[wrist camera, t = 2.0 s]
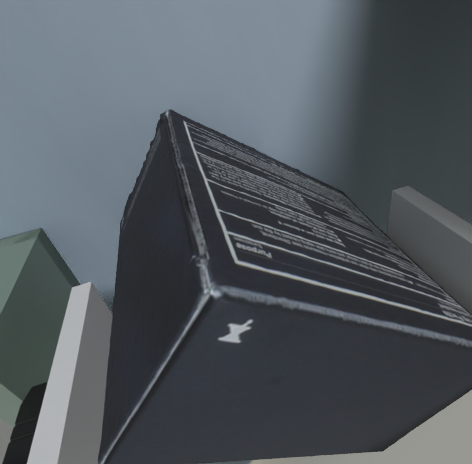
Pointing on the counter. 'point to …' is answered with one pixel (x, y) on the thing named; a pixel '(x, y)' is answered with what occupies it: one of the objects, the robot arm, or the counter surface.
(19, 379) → the box
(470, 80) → the counter surface
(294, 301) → the small box
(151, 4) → the counter surface
